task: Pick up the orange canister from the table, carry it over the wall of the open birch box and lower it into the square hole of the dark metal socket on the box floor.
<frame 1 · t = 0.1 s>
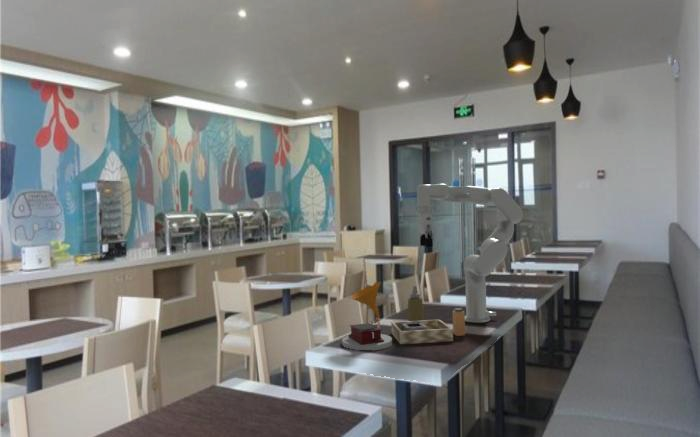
hand: (426, 246, 232), 37 cm above the table, tool pointing down, fingers open, 9 cm apart
socket: (414, 337, 206), resting on box
gramophone: (367, 344, 199), on the table
box: (421, 337, 207), on the table
squeeze bottle: (415, 324, 232), on the table
orange canister: (459, 334, 210), on the table
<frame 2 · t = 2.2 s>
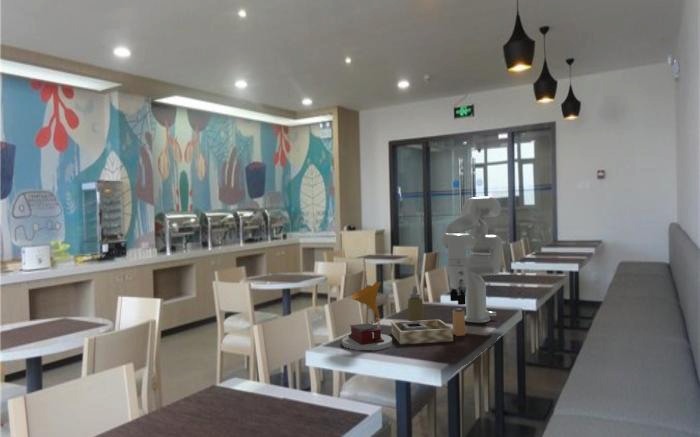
hand: (457, 302, 209), 14 cm above the table, tool pointing down, fingers open, 9 cm apart
nothing on the table moved.
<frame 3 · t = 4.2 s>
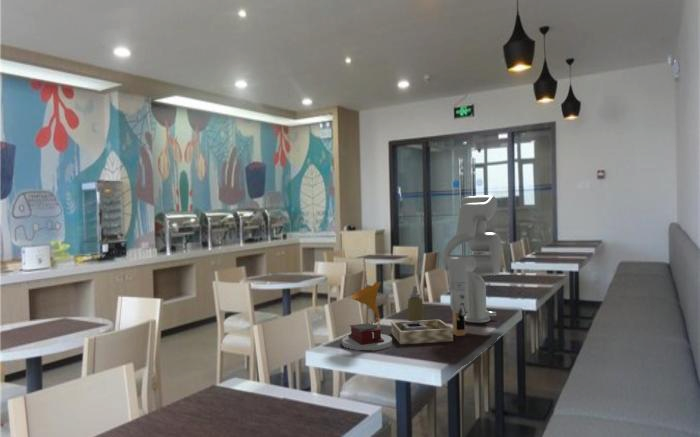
hand: (458, 327, 210), 3 cm above the table, tool pointing down, fingers closed on orange canister, 4 cm apart
orange canister: (459, 334, 210), on the table, touching gripper
everything else where it was.
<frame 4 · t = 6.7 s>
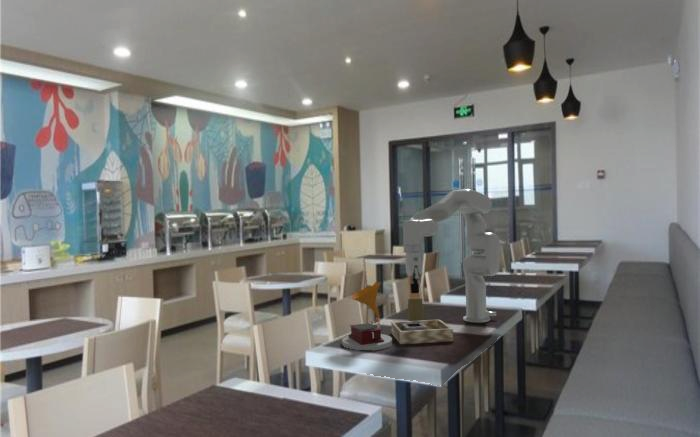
hand: (413, 291, 206), 20 cm above the table, tool pointing down, fingers closed on orange canister, 4 cm apart
orange canister: (413, 298, 206), point 17 cm above the table, touching gripper
everything else where it was.
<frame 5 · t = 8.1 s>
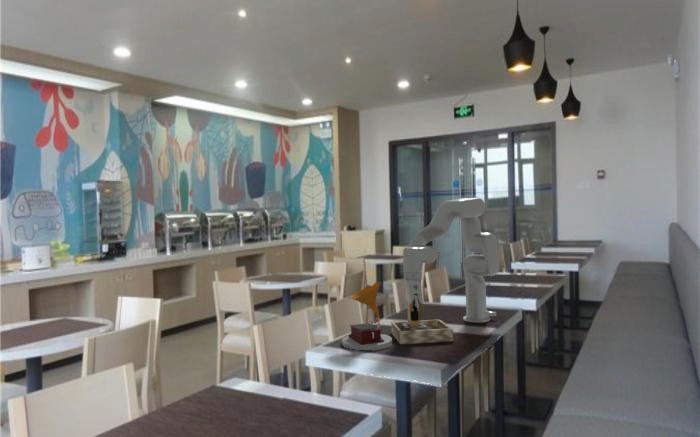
hand: (413, 318, 206), 8 cm above the table, tool pointing down, fingers closed on orange canister, 4 cm apart
orange canister: (413, 325, 206), point 5 cm above the table, touching gripper
everything else where it was.
when the fingers open (6 cm above the table, at t = 9.2 s): orange canister drops 2 cm, resting on box.
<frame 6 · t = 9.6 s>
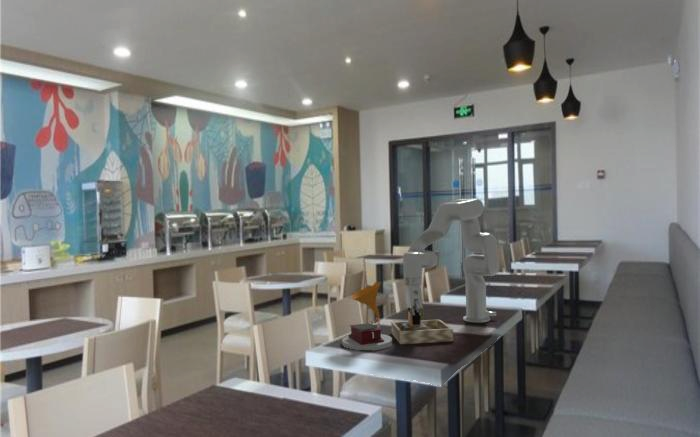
hand: (413, 322, 206), 7 cm above the table, tool pointing down, fingers open, 8 cm apart
orange canister: (414, 335, 206), point 1 cm above the table, touching box
everything else where it was.
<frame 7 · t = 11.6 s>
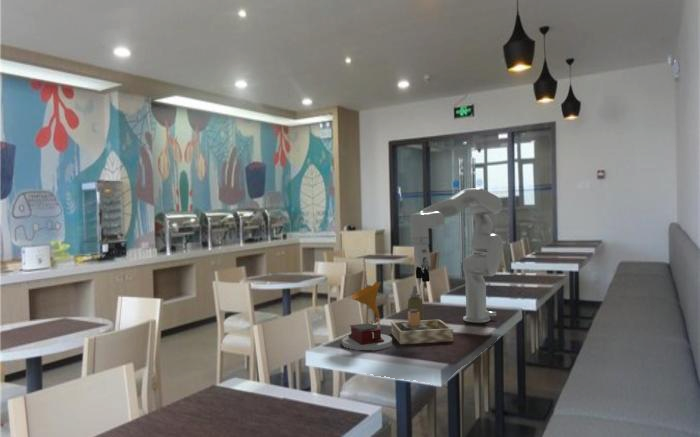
hand: (422, 279, 214), 23 cm above the table, tool pointing down, fingers open, 9 cm apart
nothing on the table moved.
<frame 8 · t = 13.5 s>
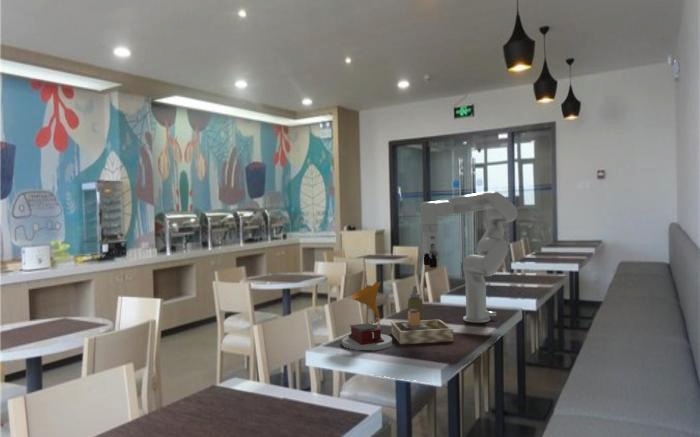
hand: (430, 266, 222), 28 cm above the table, tool pointing down, fingers open, 9 cm apart
nothing on the table moved.
at the end: orange canister 0.1 cm off-centre on the socket, point 0.8 cm above the socket's base; orange canister tilted 0°; the gripper is holding nothing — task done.
